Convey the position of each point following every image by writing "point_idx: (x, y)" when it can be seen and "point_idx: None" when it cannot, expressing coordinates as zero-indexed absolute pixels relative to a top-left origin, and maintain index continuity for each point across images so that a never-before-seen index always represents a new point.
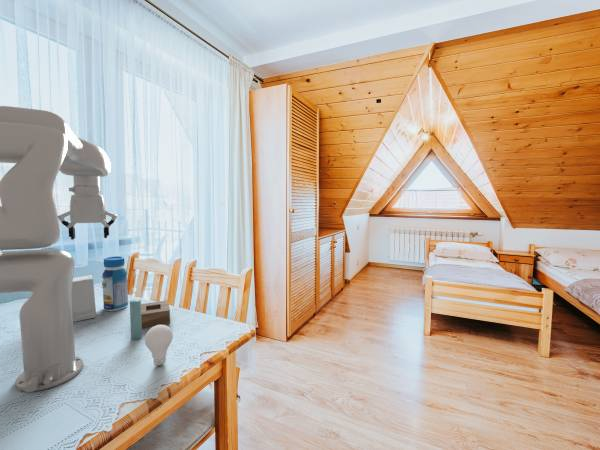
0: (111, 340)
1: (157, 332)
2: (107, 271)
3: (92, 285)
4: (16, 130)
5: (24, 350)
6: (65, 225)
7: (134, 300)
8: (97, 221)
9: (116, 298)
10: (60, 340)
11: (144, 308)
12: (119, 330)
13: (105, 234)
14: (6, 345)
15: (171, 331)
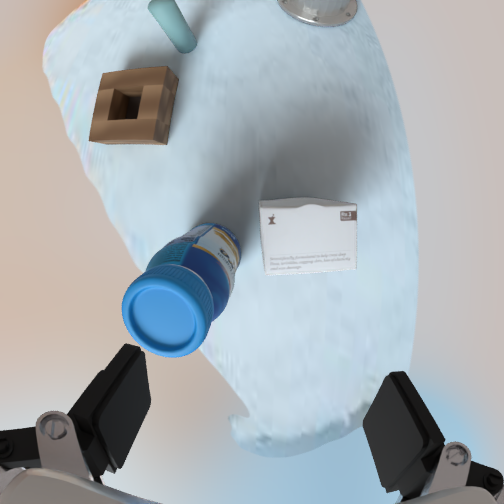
0: (231, 52)
1: None
2: (204, 272)
3: (263, 204)
4: None
5: None
6: (473, 464)
7: (160, 6)
8: (102, 501)
9: (202, 229)
10: None
11: (143, 102)
12: (212, 90)
13: (116, 364)
14: (407, 147)
15: None
